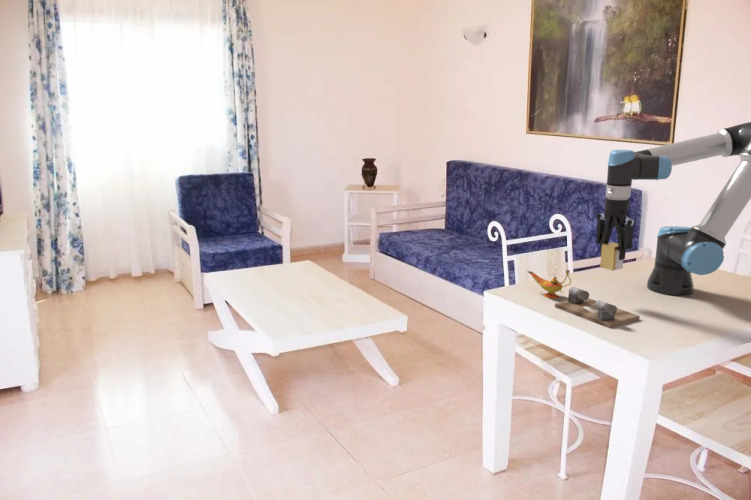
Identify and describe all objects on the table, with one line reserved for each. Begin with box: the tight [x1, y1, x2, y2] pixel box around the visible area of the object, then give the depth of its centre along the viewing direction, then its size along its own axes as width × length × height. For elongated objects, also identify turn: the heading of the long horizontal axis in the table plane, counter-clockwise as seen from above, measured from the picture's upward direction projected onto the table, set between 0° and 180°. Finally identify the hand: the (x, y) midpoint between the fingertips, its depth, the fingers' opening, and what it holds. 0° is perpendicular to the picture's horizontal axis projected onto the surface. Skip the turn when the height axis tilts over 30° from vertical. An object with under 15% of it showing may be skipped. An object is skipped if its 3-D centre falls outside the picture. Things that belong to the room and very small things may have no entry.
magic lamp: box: [527, 269, 572, 299], centre depth 216 cm, size 7×18×11 cm, turn 40°
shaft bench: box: [554, 286, 640, 329], centre depth 199 cm, size 22×14×6 cm, turn 30°
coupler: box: [599, 241, 624, 271], centre depth 206 cm, size 5×5×8 cm
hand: (611, 266), depth 207 cm, fingers closed on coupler, 5 cm apart
